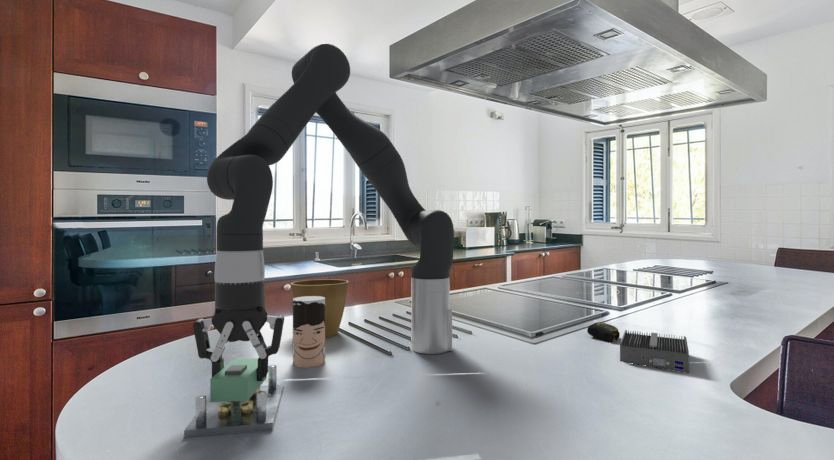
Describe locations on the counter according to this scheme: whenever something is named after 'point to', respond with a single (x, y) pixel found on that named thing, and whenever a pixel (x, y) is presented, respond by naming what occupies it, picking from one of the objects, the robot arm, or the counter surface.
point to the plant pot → (326, 299)
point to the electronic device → (655, 351)
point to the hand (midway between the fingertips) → (240, 380)
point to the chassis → (238, 412)
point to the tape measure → (603, 331)
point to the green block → (235, 381)
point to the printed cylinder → (308, 331)
